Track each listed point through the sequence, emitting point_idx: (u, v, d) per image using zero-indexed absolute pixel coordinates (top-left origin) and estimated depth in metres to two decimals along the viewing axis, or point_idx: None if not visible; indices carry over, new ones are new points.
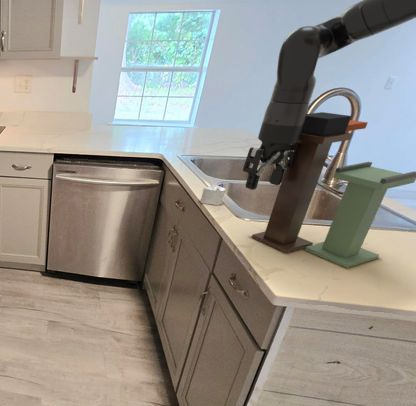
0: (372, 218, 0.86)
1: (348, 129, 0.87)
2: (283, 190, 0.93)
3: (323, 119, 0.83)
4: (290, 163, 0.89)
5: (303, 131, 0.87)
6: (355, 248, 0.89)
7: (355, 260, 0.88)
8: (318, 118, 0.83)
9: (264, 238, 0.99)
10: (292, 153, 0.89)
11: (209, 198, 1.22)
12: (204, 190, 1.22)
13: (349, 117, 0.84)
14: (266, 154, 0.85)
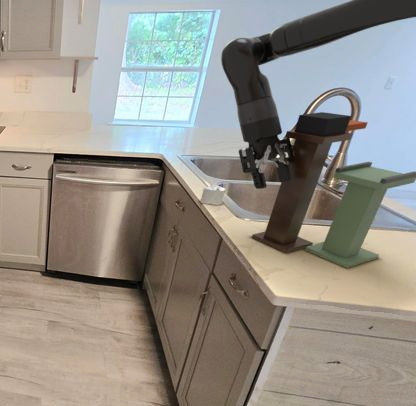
0: (372, 218, 0.86)
1: (348, 129, 0.87)
2: (283, 190, 0.93)
3: (323, 119, 0.83)
4: (289, 156, 0.89)
5: (303, 131, 0.87)
6: (355, 248, 0.89)
7: (355, 260, 0.88)
8: (318, 118, 0.83)
9: (264, 238, 0.99)
10: (286, 147, 0.89)
11: (209, 198, 1.22)
12: (204, 190, 1.22)
13: (349, 117, 0.84)
14: (257, 150, 0.87)
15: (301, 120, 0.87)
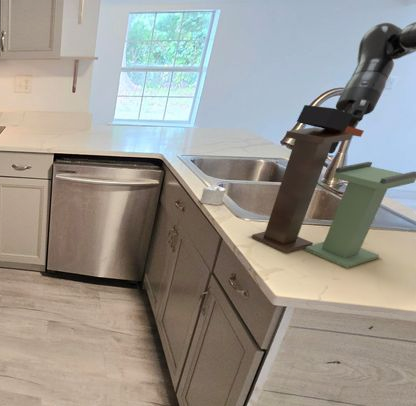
0: (372, 218, 0.86)
1: (346, 131, 0.87)
2: (283, 190, 0.93)
3: (328, 109, 0.82)
4: None
5: (306, 121, 0.85)
6: (355, 248, 0.89)
7: (355, 260, 0.88)
8: (323, 108, 0.83)
9: (264, 238, 0.99)
10: None
11: (209, 198, 1.22)
12: (204, 190, 1.22)
13: (351, 115, 0.84)
14: None
15: (306, 110, 0.86)
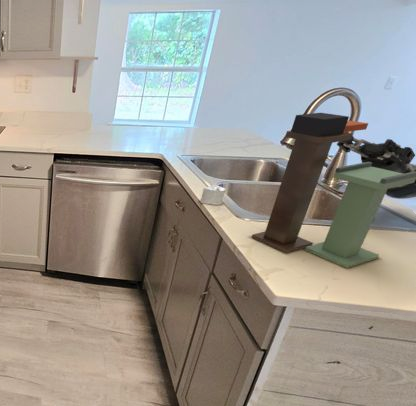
0: (372, 218, 0.86)
1: (347, 130, 0.86)
2: (283, 190, 0.93)
3: (318, 119, 0.82)
4: (343, 146, 1.02)
5: (299, 131, 0.86)
6: (355, 248, 0.89)
7: (355, 260, 0.88)
8: (314, 118, 0.83)
9: (264, 238, 0.99)
10: (347, 148, 1.03)
11: (209, 198, 1.22)
12: (204, 190, 1.22)
13: (347, 118, 0.83)
14: (393, 158, 0.95)
15: (298, 120, 0.86)
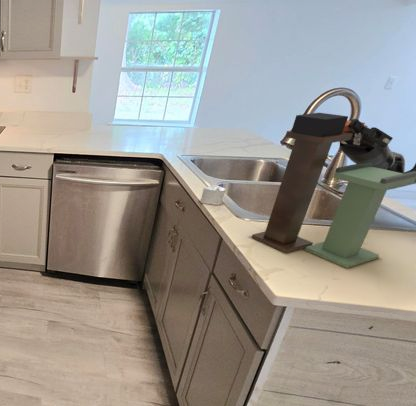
0: (372, 218, 0.86)
1: (345, 129, 0.87)
2: (283, 190, 0.93)
3: (320, 119, 0.82)
4: None
5: (300, 131, 0.86)
6: (355, 248, 0.89)
7: (355, 260, 0.88)
8: (315, 118, 0.83)
9: (264, 238, 0.99)
10: None
11: (209, 198, 1.22)
12: (204, 190, 1.22)
13: (346, 117, 0.83)
14: (372, 143, 0.89)
15: (298, 120, 0.86)
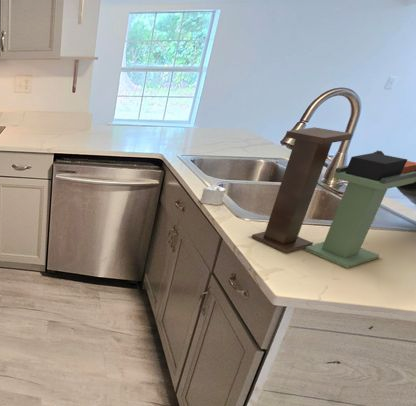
0: (372, 218, 0.86)
1: (402, 171, 0.84)
2: (283, 190, 0.93)
3: (379, 163, 0.79)
4: None
5: (355, 174, 0.83)
6: (355, 248, 0.89)
7: (355, 260, 0.88)
8: (373, 162, 0.80)
9: (264, 238, 0.99)
10: None
11: (209, 198, 1.22)
12: (204, 190, 1.22)
13: (405, 161, 0.80)
14: None
15: (354, 162, 0.83)
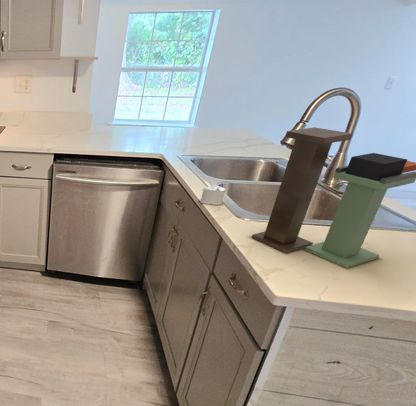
0: (372, 218, 0.86)
1: (402, 171, 0.84)
2: (283, 190, 0.93)
3: (379, 163, 0.79)
4: None
5: (355, 174, 0.83)
6: (355, 248, 0.89)
7: (355, 260, 0.88)
8: (373, 162, 0.80)
9: (264, 238, 0.99)
10: None
11: (209, 198, 1.22)
12: (204, 190, 1.22)
13: (405, 161, 0.80)
14: None
15: (354, 162, 0.83)
